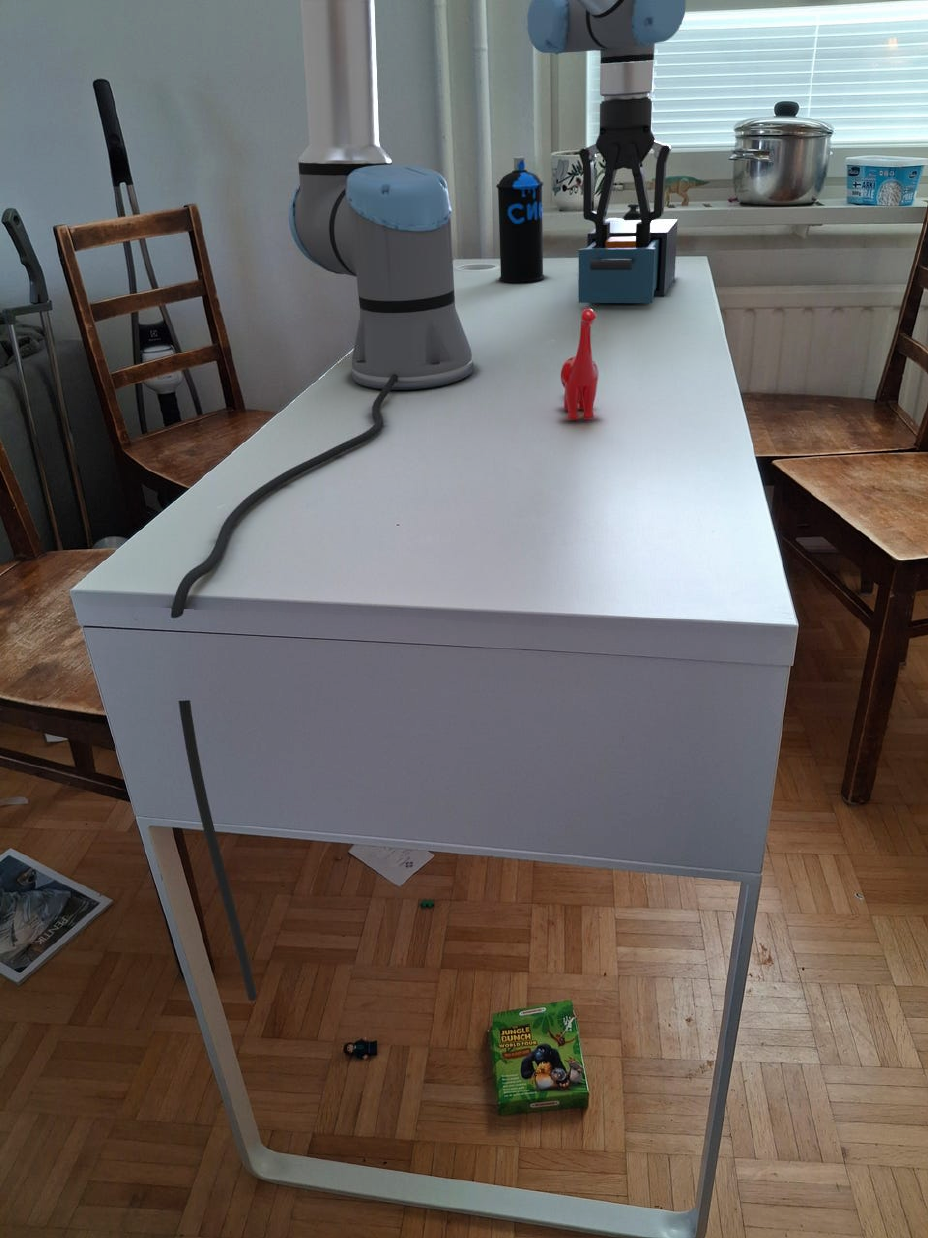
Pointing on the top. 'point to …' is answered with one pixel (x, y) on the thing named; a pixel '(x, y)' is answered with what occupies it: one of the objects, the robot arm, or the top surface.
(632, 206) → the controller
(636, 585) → the top surface
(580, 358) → the dinosaur
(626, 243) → the cube
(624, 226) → the cabinet
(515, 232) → the aerosol can
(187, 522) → the top surface
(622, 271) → the drawer
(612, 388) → the top surface
